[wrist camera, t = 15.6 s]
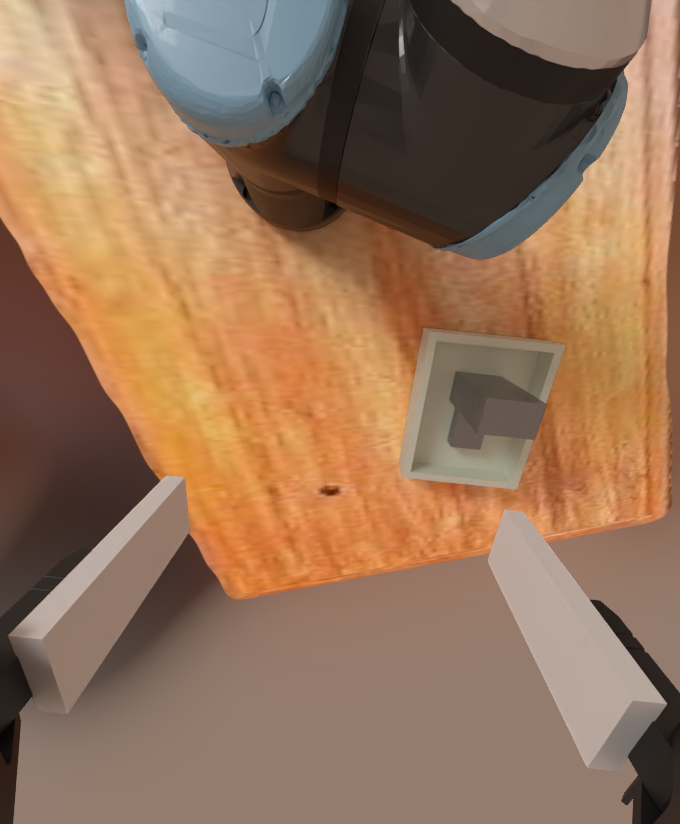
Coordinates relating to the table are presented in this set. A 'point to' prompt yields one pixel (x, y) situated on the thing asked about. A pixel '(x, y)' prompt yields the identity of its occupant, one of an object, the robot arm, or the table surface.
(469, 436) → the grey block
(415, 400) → the tray
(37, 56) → the table surface
